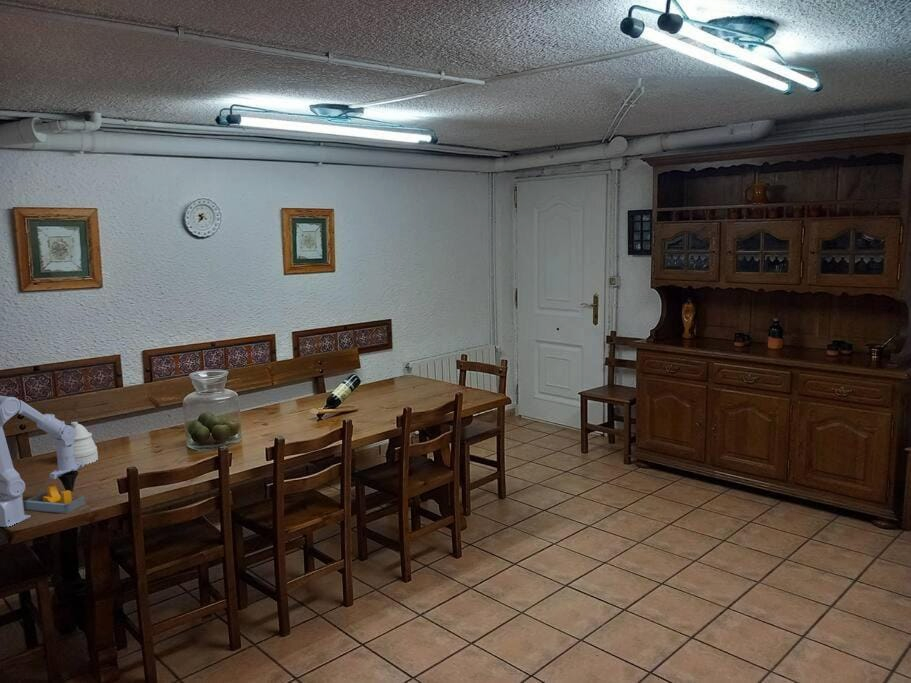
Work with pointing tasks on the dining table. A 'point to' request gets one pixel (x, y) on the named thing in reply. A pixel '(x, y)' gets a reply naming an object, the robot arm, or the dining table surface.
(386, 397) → the dining table surface
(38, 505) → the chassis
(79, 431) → the honey pot
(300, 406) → the dining table surface
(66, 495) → the pipe clamp
